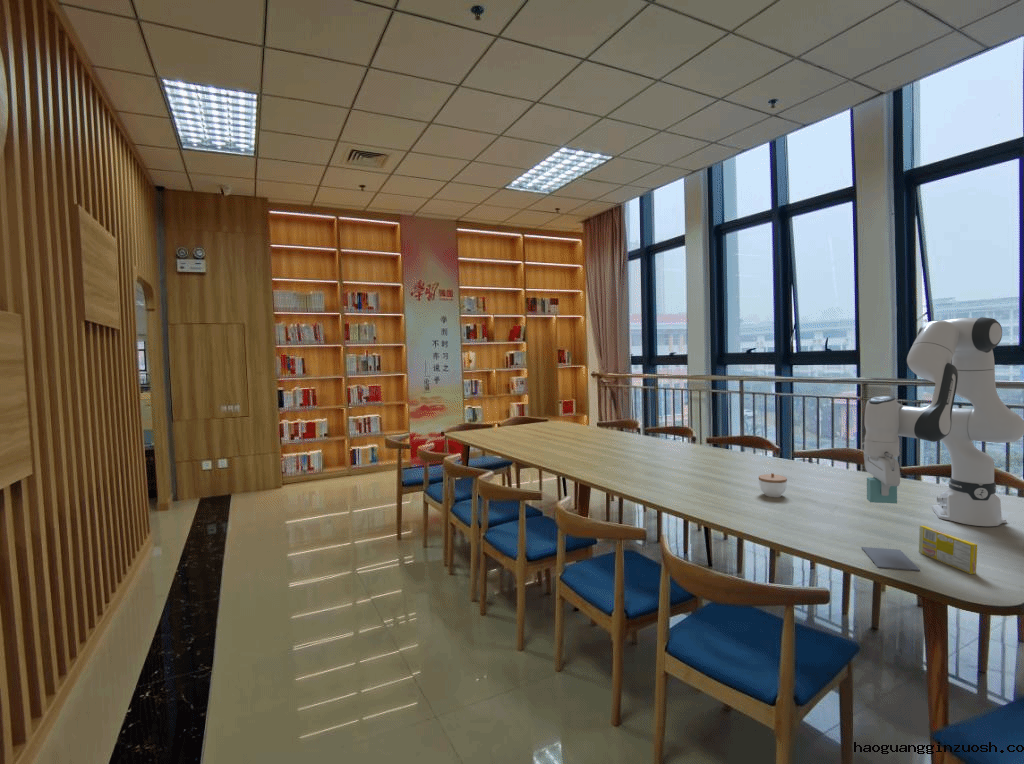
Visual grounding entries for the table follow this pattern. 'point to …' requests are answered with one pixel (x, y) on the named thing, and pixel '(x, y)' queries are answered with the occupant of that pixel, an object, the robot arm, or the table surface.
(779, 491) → the lidded jar
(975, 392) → the robot arm
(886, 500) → the teal rectangular prism
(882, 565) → the felt mat
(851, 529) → the table surface
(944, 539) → the candy box
